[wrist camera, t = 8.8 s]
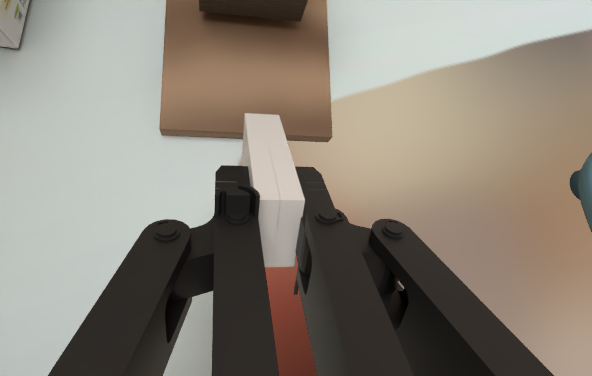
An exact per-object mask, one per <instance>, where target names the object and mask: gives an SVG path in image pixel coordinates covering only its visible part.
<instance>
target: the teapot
mask: <svg viewBox="0 0 592 376" xmlns="http://www.w3.org/2000/svg"><path fill="white" fill-rule="evenodd" d="M570 187H571V190H572V192H573V194H574V195H575V196H576V197H577V198H578V199H579V200H581V204H582V207H583V210H584V213H585V216H586V219H587V222H588V224H589V227H590V229H591V232H592V153H591V154H590V155H589V157H588V158H587V160H586V161H585V163H584V165H583V167H582V169H581V170H579V171H576V172H574V173H573V174H572V176H571V178H570Z"/></svg>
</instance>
